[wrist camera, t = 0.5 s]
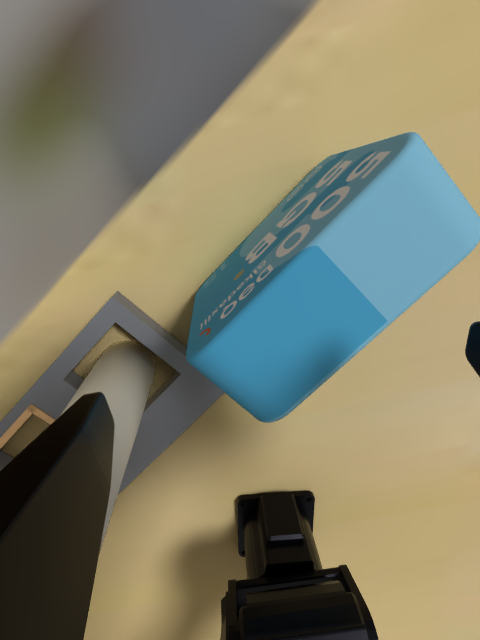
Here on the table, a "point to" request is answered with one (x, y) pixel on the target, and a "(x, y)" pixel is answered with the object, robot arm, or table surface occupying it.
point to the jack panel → (161, 408)
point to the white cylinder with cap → (121, 401)
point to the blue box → (328, 273)
